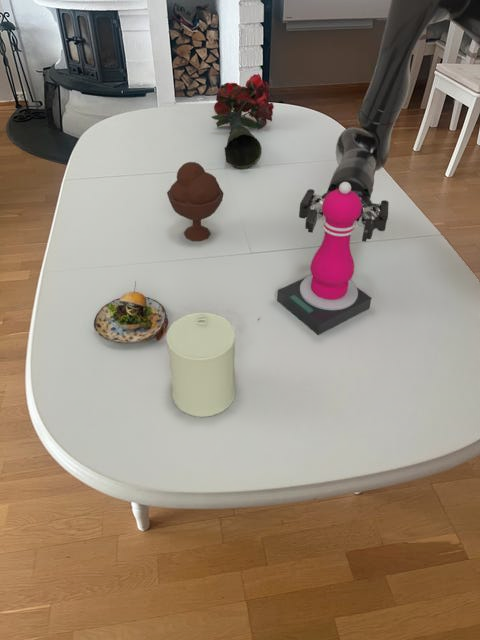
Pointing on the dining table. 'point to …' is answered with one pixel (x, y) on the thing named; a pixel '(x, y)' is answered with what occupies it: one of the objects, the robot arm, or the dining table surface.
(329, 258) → the pepper mill
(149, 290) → the dining table surface
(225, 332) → the can
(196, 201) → the ice cream bowl
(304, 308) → the kitchen scale
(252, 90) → the red flower bouquet
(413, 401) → the dining table surface
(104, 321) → the burger
